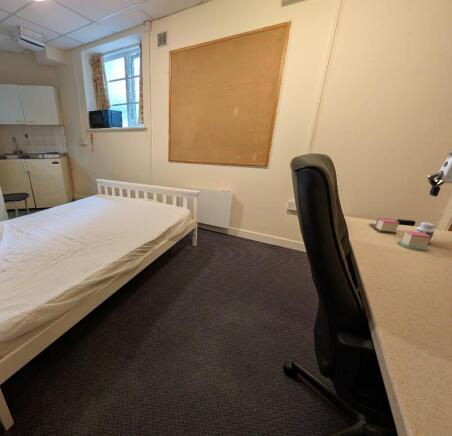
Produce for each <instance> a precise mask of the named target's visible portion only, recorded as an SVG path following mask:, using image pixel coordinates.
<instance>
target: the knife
mask: <svg viewBox="0 0 452 436" xmlns="http://www.w3.org/2000/svg"><path fill="white" fill-rule="evenodd" d="M379 218H381V219H389V218H385V217H377V220H376V222H375V224H376V225H375V227H376V226H377V223H378V221H379ZM391 219H392V220H395V221H397V222H399V225H398V226H407V227H408V226H409V227H414V226H415V225H416V223H417V221H415V220H412V219H404V218H403V219H402V218H397V219H394V218H391Z"/></svg>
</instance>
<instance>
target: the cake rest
mask: <svg viewBox="0 0 452 436" xmlns="http://www.w3.org/2000/svg"><path fill="white" fill-rule="evenodd" d="M378 218H379V221H378V223H377V226H376V227H377V228H378V229H379V230H382V231H391V232H396V233H397V230H398V227H399V226H400V225H399V222H397V221H395V220H396V219H394V220H392V219H393V218H388V219H381V218H382V217H378Z"/></svg>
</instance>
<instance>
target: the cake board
mask: <svg viewBox="0 0 452 436" xmlns="http://www.w3.org/2000/svg"><path fill="white" fill-rule="evenodd" d="M375 225H376V223H369V226H370V227H371V228H373V229H374V230H376V231H377V232H379V233H380V234H381V233H382V234H391V235H396V234H397V231H396V232H391V231H382V230H379V229H378V228H377V227H375Z"/></svg>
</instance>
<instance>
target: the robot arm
mask: <svg viewBox="0 0 452 436" xmlns="http://www.w3.org/2000/svg"><path fill="white" fill-rule="evenodd" d="M447 155H448V156H449V157H446V159H445V160H444V162H443V164H442V165H441V167H440V169H439V171H438V172H436V173H433V174H429V175H427V180H428V183H429V184H430V186H431V188H430V190H429V195H430V196H432V197H438V195H439V193H440V191H441V186H443V185H445V184H452V150H451V151H448V152H447ZM435 178H436V179H435Z"/></svg>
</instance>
